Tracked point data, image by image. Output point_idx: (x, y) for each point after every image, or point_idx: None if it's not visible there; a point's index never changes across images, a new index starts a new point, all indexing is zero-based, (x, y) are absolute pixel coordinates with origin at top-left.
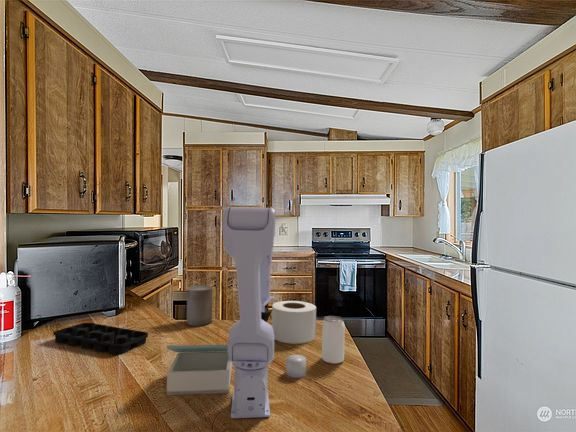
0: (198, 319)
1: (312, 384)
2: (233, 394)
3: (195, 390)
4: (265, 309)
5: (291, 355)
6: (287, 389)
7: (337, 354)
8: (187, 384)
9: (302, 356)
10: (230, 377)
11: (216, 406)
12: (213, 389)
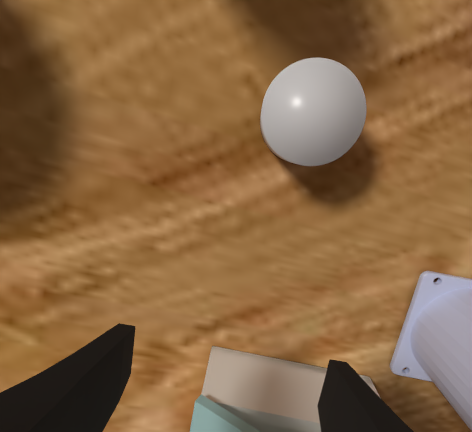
0: None
1: (414, 84)
2: (402, 374)
3: None
4: (35, 428)
5: (268, 127)
6: (415, 194)
7: None
8: None
9: (298, 70)
10: (288, 367)
11: (431, 415)
12: None
